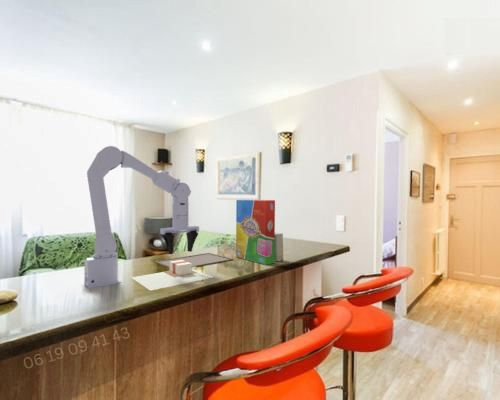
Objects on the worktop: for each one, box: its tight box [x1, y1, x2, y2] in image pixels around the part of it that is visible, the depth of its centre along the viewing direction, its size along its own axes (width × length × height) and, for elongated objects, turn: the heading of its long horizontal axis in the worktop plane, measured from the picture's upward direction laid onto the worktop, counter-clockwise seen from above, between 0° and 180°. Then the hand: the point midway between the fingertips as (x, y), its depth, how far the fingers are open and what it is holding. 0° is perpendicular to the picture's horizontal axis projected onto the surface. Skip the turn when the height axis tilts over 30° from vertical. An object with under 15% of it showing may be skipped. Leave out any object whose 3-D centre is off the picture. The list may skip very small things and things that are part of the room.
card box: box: [169, 260, 193, 276], centre depth 103 cm, size 8×5×4 cm, turn 38°
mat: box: [130, 268, 214, 291], centre depth 97 cm, size 22×18×1 cm
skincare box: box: [275, 232, 284, 262], centre depth 126 cm, size 6×4×12 cm
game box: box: [235, 199, 276, 266], centre depth 126 cm, size 21×6×27 cm, turn 41°
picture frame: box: [154, 252, 234, 268], centre depth 124 cm, size 19×1×28 cm
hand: (180, 252), depth 103 cm, fingers open, 7 cm apart
